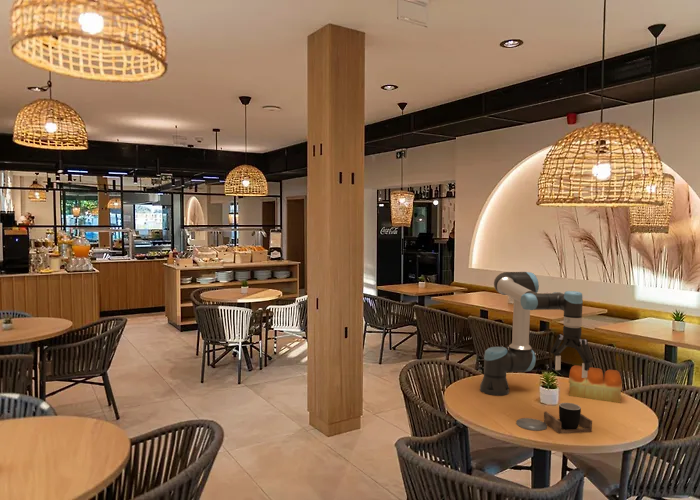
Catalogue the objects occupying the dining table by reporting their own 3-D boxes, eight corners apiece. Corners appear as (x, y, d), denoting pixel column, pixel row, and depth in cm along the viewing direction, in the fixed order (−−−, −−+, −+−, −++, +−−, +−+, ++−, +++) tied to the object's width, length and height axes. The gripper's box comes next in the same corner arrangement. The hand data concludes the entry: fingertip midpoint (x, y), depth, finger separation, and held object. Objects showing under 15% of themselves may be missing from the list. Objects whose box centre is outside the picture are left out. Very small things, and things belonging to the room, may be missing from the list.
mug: (584, 432, 227) (585, 409, 226) (564, 432, 226) (565, 410, 226) (569, 421, 239) (570, 400, 238) (551, 422, 238) (551, 400, 237)
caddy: (543, 422, 238) (544, 411, 237) (575, 420, 240) (575, 410, 240) (558, 433, 225) (559, 422, 225) (591, 431, 228) (592, 420, 227)
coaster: (511, 420, 240) (511, 418, 240) (537, 418, 242) (537, 417, 242) (524, 431, 227) (525, 430, 227) (552, 430, 229) (552, 428, 229)
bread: (620, 396, 275) (621, 369, 274) (621, 403, 264) (622, 375, 263) (569, 389, 286) (570, 362, 285) (568, 396, 274) (569, 368, 274)
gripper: (543, 322, 239) (542, 367, 240) (592, 332, 218) (591, 382, 218) (554, 321, 243) (552, 365, 244) (603, 330, 221) (601, 379, 222)
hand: (570, 373), depth 231 cm, fingers open, 13 cm apart
